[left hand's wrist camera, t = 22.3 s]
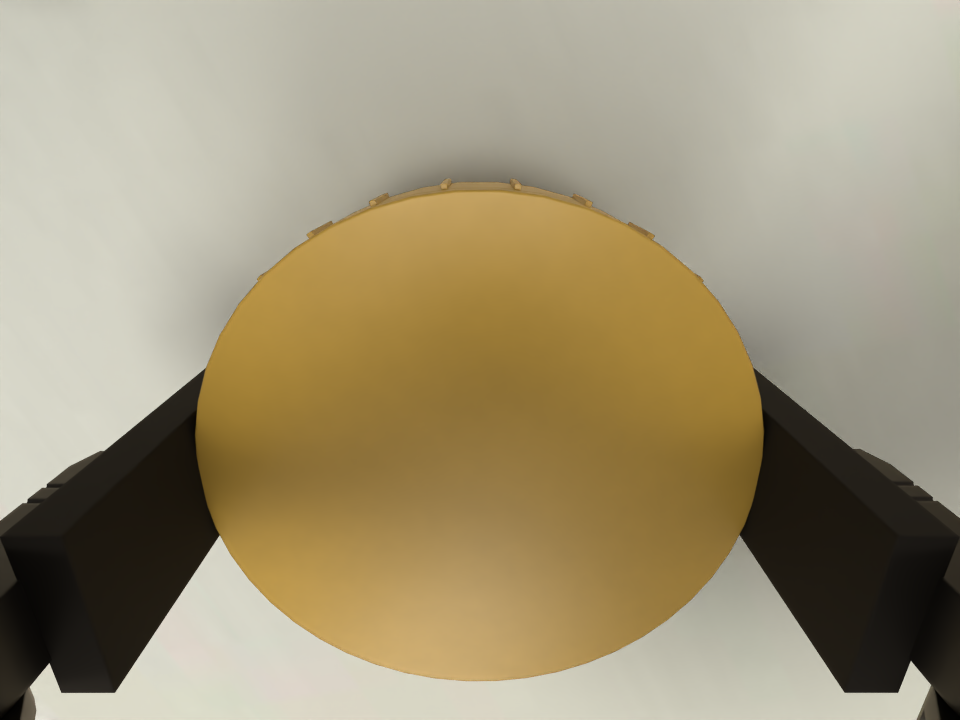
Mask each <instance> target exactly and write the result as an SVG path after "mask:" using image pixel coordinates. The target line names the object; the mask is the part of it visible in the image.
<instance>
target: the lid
mask: <svg viewBox="0 0 960 720" xmlns="http://www.w3.org/2000/svg"><path fill="white" fill-rule="evenodd" d="M369 203H370V206H368V207H365V208H363V209H361V210H359V211H356V212H354V213H352V214H350V215H349V216H347V217H345V218H343V219H341V220H339V221H338V222H336V223H334V224H333V223H332V221H330V222H328V223H326V224H324V225H322V226H320V227H318V228H317V229H315V230H313V231H311V232H309V233H308V234H307V236H308V238H309V239H308V240H307V241H305V242H303V243H302V244H300V245H299V246H297V247H296V248H294V249H293V250H292V251H291V252H289V253H288V254H287V255H286V256H285V257H284V258H282V259H281V260H280V261H279V262H278V263H277V264H276V265H274V266H273V267H272V268H271V269H270V270H268V271H267V272H265V273H263V274H262V275H260V276H259V277H258V279H257V280H258V282H257V283H256V284H255V286H254V287H253V288H252V289H251V290H250V291H249V293H248V294H247V295H246V296H245V297H244V298H243V300H242V301H241V302H240V303H239V305H238V306H237V308H236V309H235V311H234V313H233V314H232V316H231V318H230V319H229V321H228V322H227V324H226V326H225V327H224V329H223V331H222V332H221V334H220V335H219V338H218V340H217V343H216V345H215V347H214V350H213V352H212V355H211V357H210V359H209V362H208V364H207V367H206V370H205V374H204V378H203V382H202V386H201V390H200V395H199V399H198V406H197V418H196V431H195V440H196V454H197V461H198V466H199V471H200V475H201V480H202V484H203V489H204V493H205V498H206V502H207V506H208V509H209V511H210V514H211V517H212V519H213V522H214V524H215V527H216V529H217V531H218V533H219V534H220V536H221V538H222V540H223V542H224V543H225V545H226V547H227V549H228V551H229V553H230V554H231V556H232V557H233V559H234V560H235V561H236V563H237V564H238V565H239V567H240V568H241V569H242V571H243V572H244V573H245V575H246V576H247V578H248V579H249V580H250V581H251V582H252V583H253V584H254V585H255V587H256V588H257V589H258V590H259V591H260V592H261V593H262V594H263V595H264V596H265V597H266V598H267V599H268V600H269V601H270V602H271V603H272V604H273V605H274V606H276V607H277V608H278V609H279V610H280V611H282V612H283V613H284V614H285V615H286V616H287V617H289V618H290V619H291V620H292V621H293V622H295V623H296V624H298V625H299V626H301V627H302V628H304V629H305V630H307V631H308V632H310V633H311V634H313V635H315V636H316V637H318V638H319V639H321V640H323V641H325V642H327V643H329V644H330V645H332V646H334V647H336V648H338V649H340V650H342V651H344V652H346V653H348V654H351V655H353V656H356V657H358V658H361V659H363V660H366V661H368V662H371V663H373V664H376V665H380V666H383V667H387V668H390V669H394V670H397V671H401V672H404V673H409V674H414V675H420V676H425V677H431V678H437V679H449V680H460V681H500V680H510V679H520V678H529V677H534V676H539V675H544V674H549V673H554V672H559V671H562V670H565V669H569V668H572V667H575V666H579V665H582V664H586V663H588V662H591V661H593V660H596V659H598V658H601V657H603V656H605V655H608V654H610V653H613V652H615V651H617V650H619V649H621V648H623V647H625V646H626V645H628V644H630V643H632V642H634V641H636V640H638V639H640V638H641V637H643V636H645V635H646V634H648V633H649V632H650V631H652V630H653V629H655V628H656V627H658V626H659V625H661V624H662V623H664V622H665V621H667V620H668V619H669V618H670V617H672V616H673V615H674V614H675V613H676V612H677V611H679V610H680V609H681V608H682V607H683V606H684V605H686V604H687V603H688V602H689V601H690V600H691V599H692V598H693V597H694V596H695V595H696V594H697V593H698V592H699V591H700V590H701V589H702V587H703V586H704V585H705V584H706V583H707V582H708V581H709V580H710V579H711V578H712V576H713V575H714V574H715V572H716V571H717V569H718V568H719V567H720V565H721V564H722V563H723V561H724V560H725V558H726V557H727V556H728V554H729V553H730V551H731V549H732V547H733V545H734V544H735V542H736V540H737V538H738V536H739V534H740V532H741V531H742V529H743V527H744V525H745V522H746V520H747V517H748V514H749V511H750V509H751V506H752V502H753V498H754V494H755V490H756V485H757V481H758V476H759V471H760V467H761V462H762V456H763V441H764V427H763V416H762V405H761V397H760V393H759V389H758V385H757V381H756V377H755V373H754V370H753V366H752V363H751V361H750V358H749V356H748V354H747V351H746V349H745V347H744V345H743V342H742V340H741V338H740V335H739V333H738V331H737V330H736V328H735V326H734V325H733V323H732V322H731V320H730V319H729V317H728V315H727V314H726V312H725V311H724V309H723V308H722V306H721V304H720V303H719V301H718V300H717V299H716V298H715V297H714V295H713V294H712V293H711V292H710V291H709V290H708V289H707V288H706V286H705V285H704V284H703V283H702V282H703V279H702V278H701V277H700V276H698V275H696V274H695V273H693V272H692V271H691V270H690V269H689V268H688V267H686V266H685V265H684V264H683V263H682V262H680V261H679V260H678V259H677V258H676V257H674V256H673V255H672V254H671V253H670V252H669V251H667V250H666V249H665V248H664V247H663V246H661V245H660V244H658V243H656V242H655V241H653V240H652V239H653V238H654V235H653V234H652V233H650V232H648V231H646V230H644V229H642V228H640V227H638V226H637V225H635V224H633V223H631V222H629V224H628V225H627V224H625V223H624V222H622V221H620V220H618V219H616V218H614V217H612V216H611V215H609V214H607V213H605V212H603V211H601V210H599V209H596V208H594V207H592V202H591V201H589V200H587V199H585V198H583V197H581V196H579V195H577V194H573V197H572V198H571V197H568V196H565V195H561V194H558V193H554V192H550V191H547V190H543V189H539V188H536V187H530V186H523V185H521V184H520V183H519V182H518V181H517V180H516V179H510V184H508V183H500V182H458V183H451V179H445V180H444V181H443V182H442V183H441V184H440V185H437V186H430V187H423V188H419V189H416V190H412V191H409V192H405V193H402V194H399V195H395V196H392V197H389V195H388V193H385V194H383V195H381V196H379V197H377V198H375V199H373V200H371V201H369Z"/></svg>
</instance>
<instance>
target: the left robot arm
mask: <svg viewBox="0 0 960 720" xmlns="http://www.w3.org/2000/svg"><path fill="white" fill-rule="evenodd" d="M205 370H206V368H205V369H204V370H203V371H202V372H201V373H199V374H198V375H197V376H196V377H194V378H193V379H192V380H191V381H190V382H188V383H187V384H186V385H185V386H183V387H182V388H181V389H180V390H179V391H177V392H176V393H175V394H174V395H172V396H171V397H170V398H169V399H168V400H166V401H165V402H164V403H163V404H161V405H160V406H159V407H158V408H157V409H155V410H154V411H153V412H152V413H150V414H149V415H148V416H147V417H145V418H144V419H143V420H142V421H141V422H139V423H138V424H137V425H136V426H134V427H133V428H132V429H131V430H130V431H128V432H127V433H126V434H125V435H123V436H122V437H121V438H120V439H119V440H117V441H116V442H115V443H114V444H112V445H111V446H110V447H109V448H108V449H106V450H105V451H99V452H97V453H95V454H93V455H91V456H89V457H87V458H85V459H83V460H81V461H79V462H77V463H75V464H73V465H71V466H69V467H68V468H67V469H66V470H64V471H63V472H62V473H61V474H59V475H58V476H57V477H55V478H54V479H53V480H52V481H50V482H49V483H48V484H47V487H46V488H41V489H40V490H39V491H38V492H36V493H35V494H34V495H33V496H31V497H30V498H29V499H28V502H27V503H22V504H21V505H20V506H19V507H17V508H16V509H15V510H13V511H12V512H11V513H10V514H8V515H7V516H6V517H5V518H3V519H2V520H1V521H0V720H35V715H36V706H35V700H34V697H33V694H32V692H31V689H30V686H31V684H32V683H33V682H34V681H35V680H36V678H37V677H38V676H39V675H40V674H41V672H42V671H43V670H44V669H45V668H46V666H47V665H48V664H49V663H50V665H51V668H52V670H53V673H54V675H55V678H56V680H57V683H58V685H59V688H60V690H61V693H115V692H116V690H117V689H118V687H119V686H120V684H121V683H122V681H123V680H124V678H125V677H126V675H127V674H128V672H129V671H130V669H131V668H132V666H133V665H134V663H135V662H136V660H137V659H138V657H139V656H140V654H141V653H142V651H143V650H144V648H145V647H146V645H147V644H148V642H149V641H150V639H151V638H152V636H153V635H154V633H155V632H156V630H157V629H158V627H159V626H160V624H161V623H162V621H163V620H164V618H165V617H166V615H167V614H168V612H169V611H170V609H171V608H172V606H173V605H174V603H175V602H176V600H177V599H178V597H179V596H180V594H181V593H182V591H183V590H184V588H185V587H186V585H187V584H188V582H189V581H190V579H191V577H192V576H193V574H194V573H195V571H196V570H197V568H198V567H199V565H200V564H201V562H202V561H203V559H204V558H205V556H206V555H207V553H208V552H209V550H210V549H211V547H212V546H213V544H214V543H215V541H216V540H217V538H218V537H219V535H220V534H219V533H218V531H217V529H216V527H215V524H214V522H213V519H212V517H211V514H210V511H209V509H208V506H207V502H206V498H205V493H204V489H203V484H202V480H201V475H200V471H199V466H198V461H197V454H196V440H195V431H196V418H197V406H198V399H199V395H200V390H201V386H202V382H203V378H204V374H205ZM753 370H754V373H755V377H756V381H757V385H758V389H759V393H760V397H761V405H762V416H763V427H764V441H763V456H762V462H761V467H760V471H759V476H758V481H757V485H756V490H755V494H754V498H753V502H752V506H751V509H750V511H749V514H748V517H747V520H746V522H745V525H744V527H743V529H742V531H741V532H740V536H741V537H742V539H743V540H744V542H745V543H746V545H747V546H748V548H749V549H750V551H751V552H752V554H753V555H754V557H755V558H756V560H757V562H758V563H759V565H760V566H761V568H762V569H763V571H764V572H765V574H766V575H767V577H768V578H769V580H770V581H771V583H772V584H773V586H774V587H775V589H776V590H777V592H778V593H779V595H780V596H781V598H782V599H783V601H784V602H785V604H786V605H787V607H788V608H789V610H790V611H791V613H792V614H793V616H794V617H795V619H796V620H797V622H798V623H799V625H800V626H801V628H802V629H803V631H804V632H805V634H806V635H807V637H808V638H809V640H810V641H811V643H812V644H813V646H814V647H815V649H816V650H817V652H818V653H819V655H820V656H821V658H822V659H823V661H824V662H825V664H826V665H827V667H828V668H829V670H830V671H831V673H832V674H833V676H834V677H835V679H836V680H837V682H838V683H839V685H840V686H841V688H842V689H843V691H844V692H845V693H898V692H899V689H900V687H901V684H902V681H903V679H904V676H905V674H906V671H907V669H908V666H909V664H910V661H912V662H913V664H914V665H915V666H916V667H917V668H918V670H919V671H920V672H921V673H922V674H923V676H924V677H925V678H926V679H927V680H928V682H929V683H930V684H931V687H930V689H929V692H928V694H927V697H926V699H925V701H924V704H923V706H922V708H921V711H920V713H919V715H918V718H917V720H960V518H959V517H957V516H956V515H955V514H954V513H952V512H951V511H950V510H948V509H947V508H946V507H945V506H943V505H942V504H941V503H940V502H938V501H933V497H932V496H931V495H929V494H928V493H927V492H925V491H924V490H923V489H922V488H920V487H919V486H914V484H913V481H911V480H910V479H909V478H907V477H906V476H905V475H904V474H902V473H901V472H900V471H898V470H897V469H896V468H895V467H893V466H892V465H891V464H889V463H887V462H885V461H883V460H881V459H879V458H877V457H875V456H873V455H871V454H869V453H867V452H865V451H863V450H861V449H852V448H851V447H850V446H848V445H847V444H846V443H845V442H843V441H842V440H841V439H840V438H839V437H837V436H836V435H835V434H834V433H832V432H831V431H830V430H829V429H828V428H826V427H825V426H824V425H823V424H821V423H820V422H819V421H818V420H817V419H815V418H814V417H813V416H812V415H810V414H809V413H808V412H807V411H806V410H804V409H803V408H802V407H801V406H799V405H798V404H797V403H796V402H795V401H793V400H792V399H791V398H790V397H788V396H787V395H786V394H785V393H784V392H782V391H781V390H780V389H779V388H777V387H776V386H775V385H774V384H773V383H771V382H770V381H769V380H768V379H766V378H765V377H764V376H763V375H762V374H760V373H759V372H758V371H757V370H755V369H754V368H753Z"/></svg>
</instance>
